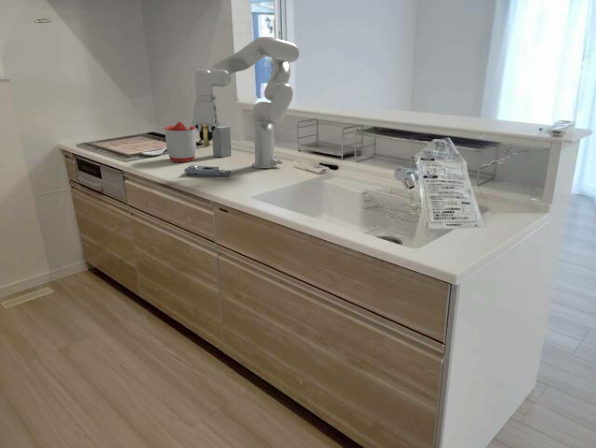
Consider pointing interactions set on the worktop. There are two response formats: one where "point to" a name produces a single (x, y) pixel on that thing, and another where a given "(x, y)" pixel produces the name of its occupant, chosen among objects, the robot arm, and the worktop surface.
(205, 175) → the lower link
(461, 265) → the worktop surface
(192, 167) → the upper link
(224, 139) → the skincare box
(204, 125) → the brass pin
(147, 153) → the spoon
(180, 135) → the citrus juicer
